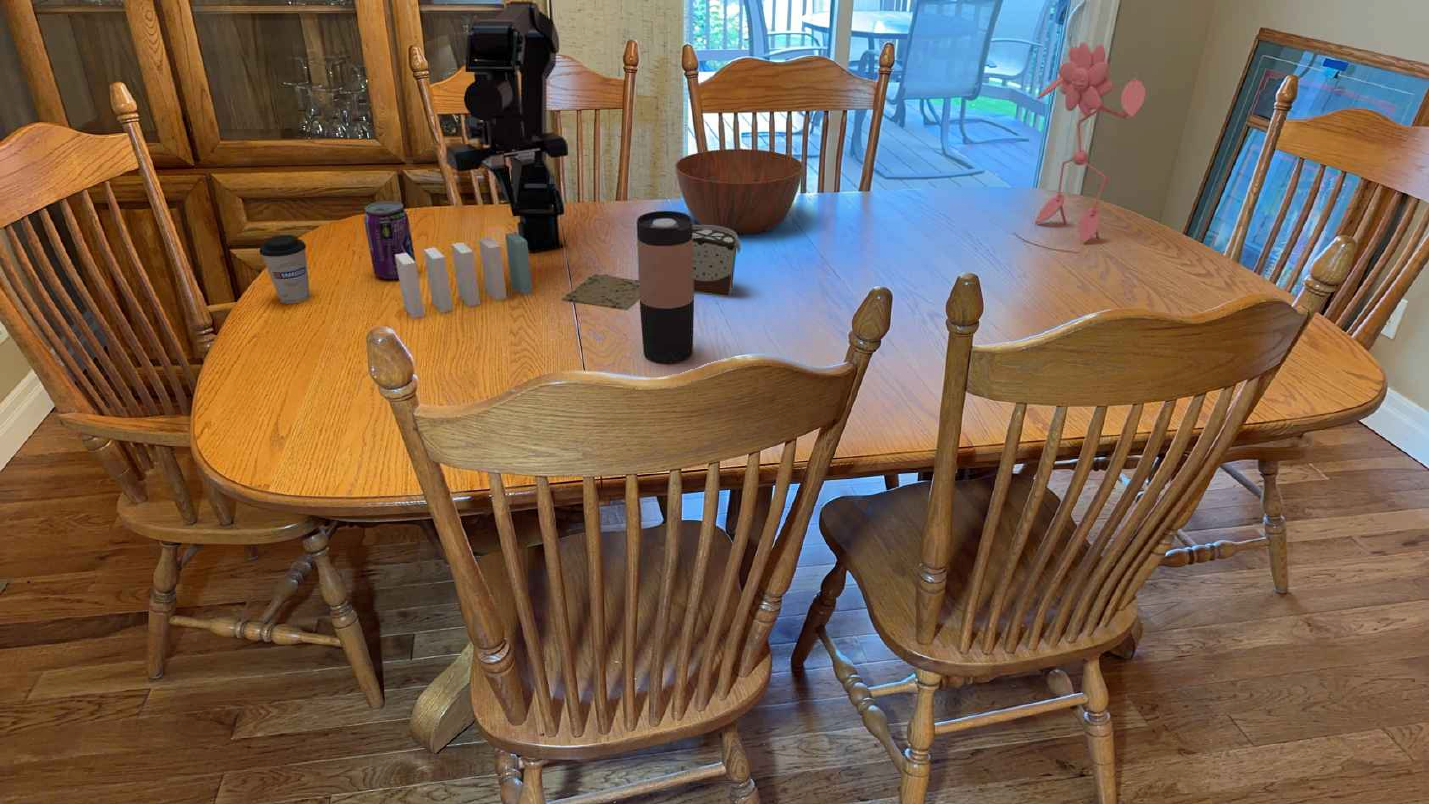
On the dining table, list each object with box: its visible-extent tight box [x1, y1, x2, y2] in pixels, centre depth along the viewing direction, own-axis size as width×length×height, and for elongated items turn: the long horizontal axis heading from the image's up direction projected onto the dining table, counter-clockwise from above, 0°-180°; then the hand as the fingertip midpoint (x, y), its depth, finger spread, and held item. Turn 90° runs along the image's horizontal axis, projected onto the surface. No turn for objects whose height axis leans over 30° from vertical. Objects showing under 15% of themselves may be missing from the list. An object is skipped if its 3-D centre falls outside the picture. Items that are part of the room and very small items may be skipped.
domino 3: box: [450, 242, 481, 308], centre depth 148 cm, size 2×5×9 cm, turn 32°
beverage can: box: [363, 200, 418, 280], centre depth 157 cm, size 7×7×12 cm
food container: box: [692, 224, 742, 298], centre depth 152 cm, size 12×6×10 cm, turn 71°
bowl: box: [675, 148, 805, 235], centre depth 182 cm, size 25×25×12 cm
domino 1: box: [395, 253, 426, 320], centre depth 143 cm, size 2×5×9 cm, turn 32°
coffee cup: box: [258, 234, 311, 305], centre depth 148 cm, size 7×7×10 cm
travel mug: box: [636, 210, 695, 365], centre depth 128 cm, size 8×8×20 cm
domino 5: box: [504, 232, 533, 296], centre depth 152 cm, size 2×5×9 cm, turn 32°
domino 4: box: [478, 236, 508, 302], centre depth 150 cm, size 2×5×9 cm, turn 32°
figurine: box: [1012, 42, 1146, 254], centre depth 168 cm, size 15×26×35 cm, turn 23°
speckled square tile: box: [561, 273, 640, 311], centre depth 153 cm, size 12×12×1 cm
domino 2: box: [423, 246, 454, 314], centre depth 145 cm, size 2×5×9 cm, turn 32°
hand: (513, 203), depth 152 cm, fingers closed
